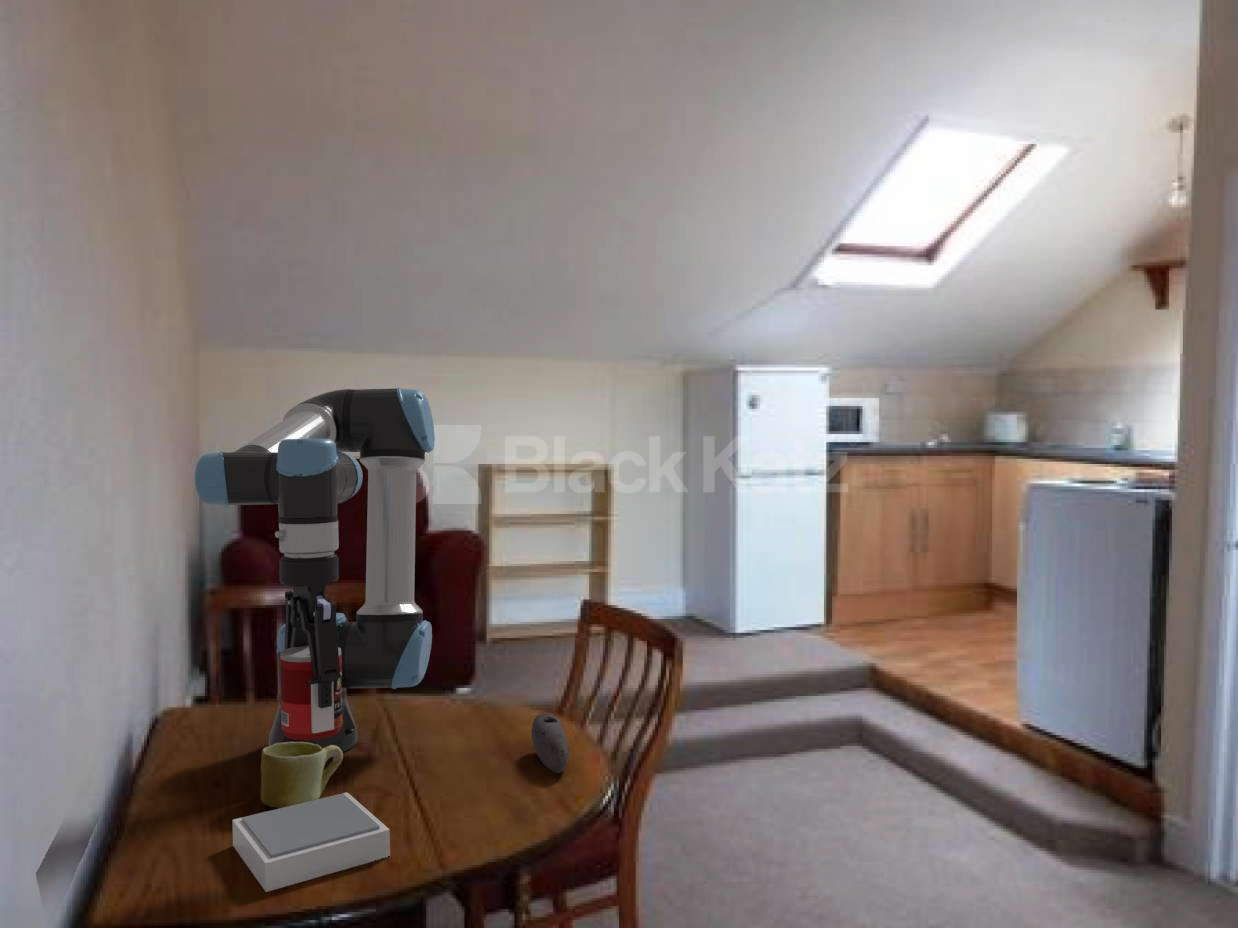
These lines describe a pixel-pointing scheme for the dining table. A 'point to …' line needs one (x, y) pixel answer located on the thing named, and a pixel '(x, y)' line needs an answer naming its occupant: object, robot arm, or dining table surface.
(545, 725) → the perforated stone tool
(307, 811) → the tray
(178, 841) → the dining table surface
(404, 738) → the dining table surface
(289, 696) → the canned food
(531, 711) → the dining table surface
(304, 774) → the mug
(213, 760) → the dining table surface
